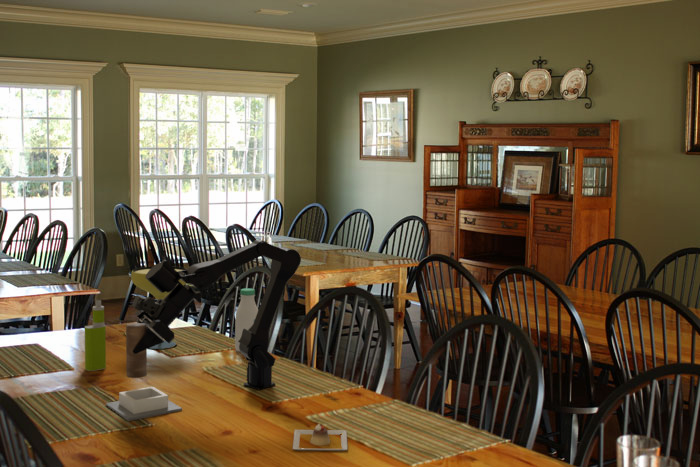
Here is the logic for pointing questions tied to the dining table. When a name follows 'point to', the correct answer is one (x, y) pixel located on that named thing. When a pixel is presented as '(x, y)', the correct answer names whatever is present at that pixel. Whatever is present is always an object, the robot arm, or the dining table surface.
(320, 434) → the dessert
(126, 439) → the dining table surface
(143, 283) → the cocktail glass
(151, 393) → the socket dock
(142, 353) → the plug
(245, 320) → the milk bottle
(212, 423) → the dining table surface
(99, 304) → the vape
